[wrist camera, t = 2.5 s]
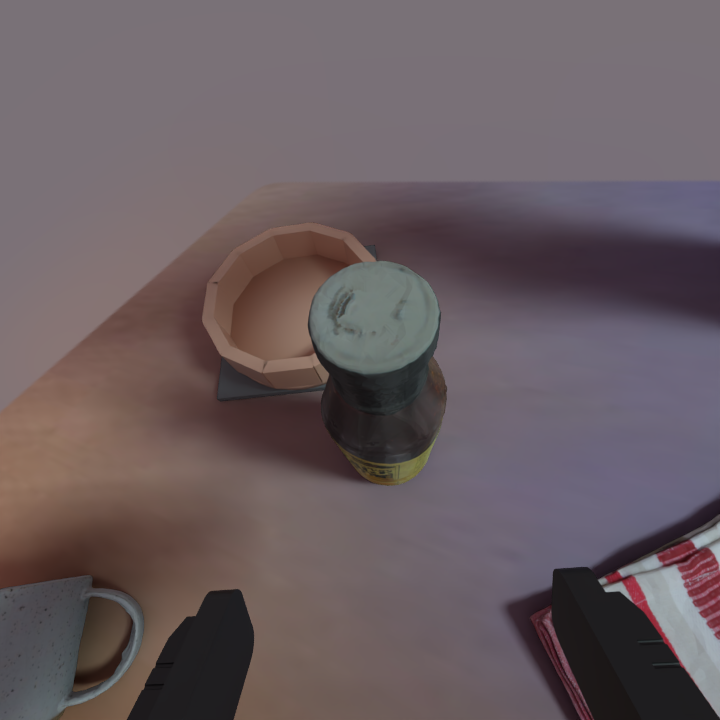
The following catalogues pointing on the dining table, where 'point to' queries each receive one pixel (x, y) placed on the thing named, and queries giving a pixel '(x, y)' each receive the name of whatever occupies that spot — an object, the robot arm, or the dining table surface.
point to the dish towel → (665, 609)
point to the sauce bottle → (379, 367)
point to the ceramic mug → (51, 645)
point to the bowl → (276, 301)
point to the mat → (244, 387)
